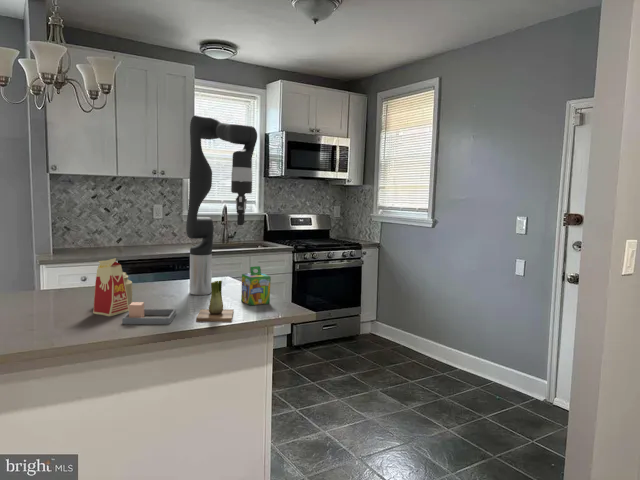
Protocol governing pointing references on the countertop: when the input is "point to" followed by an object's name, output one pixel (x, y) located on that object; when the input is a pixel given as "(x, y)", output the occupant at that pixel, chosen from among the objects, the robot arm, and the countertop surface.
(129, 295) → the sugar bowl
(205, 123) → the robot arm
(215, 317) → the board
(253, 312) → the countertop surface
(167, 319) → the grey tray
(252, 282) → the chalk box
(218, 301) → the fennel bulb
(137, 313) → the pink rectangular block
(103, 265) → the milk carton
